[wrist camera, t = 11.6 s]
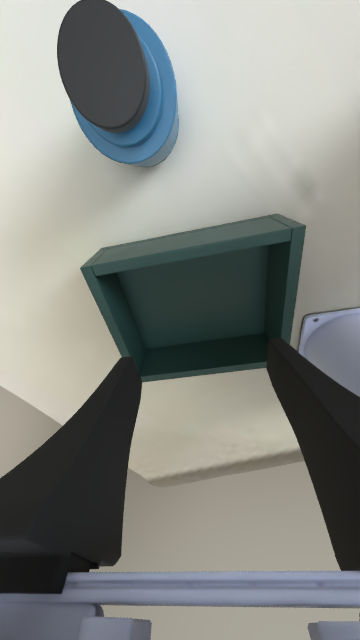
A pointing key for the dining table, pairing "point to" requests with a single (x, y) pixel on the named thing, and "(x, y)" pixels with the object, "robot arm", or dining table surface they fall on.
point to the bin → (200, 296)
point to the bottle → (118, 82)
